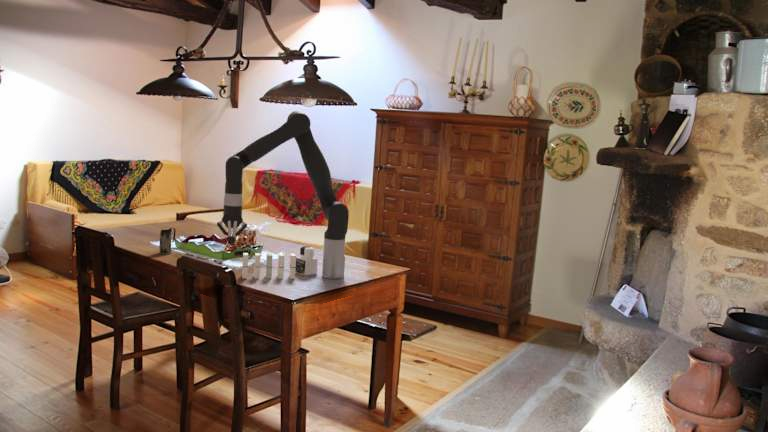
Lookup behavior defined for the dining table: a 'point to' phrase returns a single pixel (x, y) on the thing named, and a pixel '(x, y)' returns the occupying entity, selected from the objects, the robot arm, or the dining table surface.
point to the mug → (166, 241)
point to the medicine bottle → (306, 262)
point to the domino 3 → (269, 266)
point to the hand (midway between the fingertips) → (231, 245)
